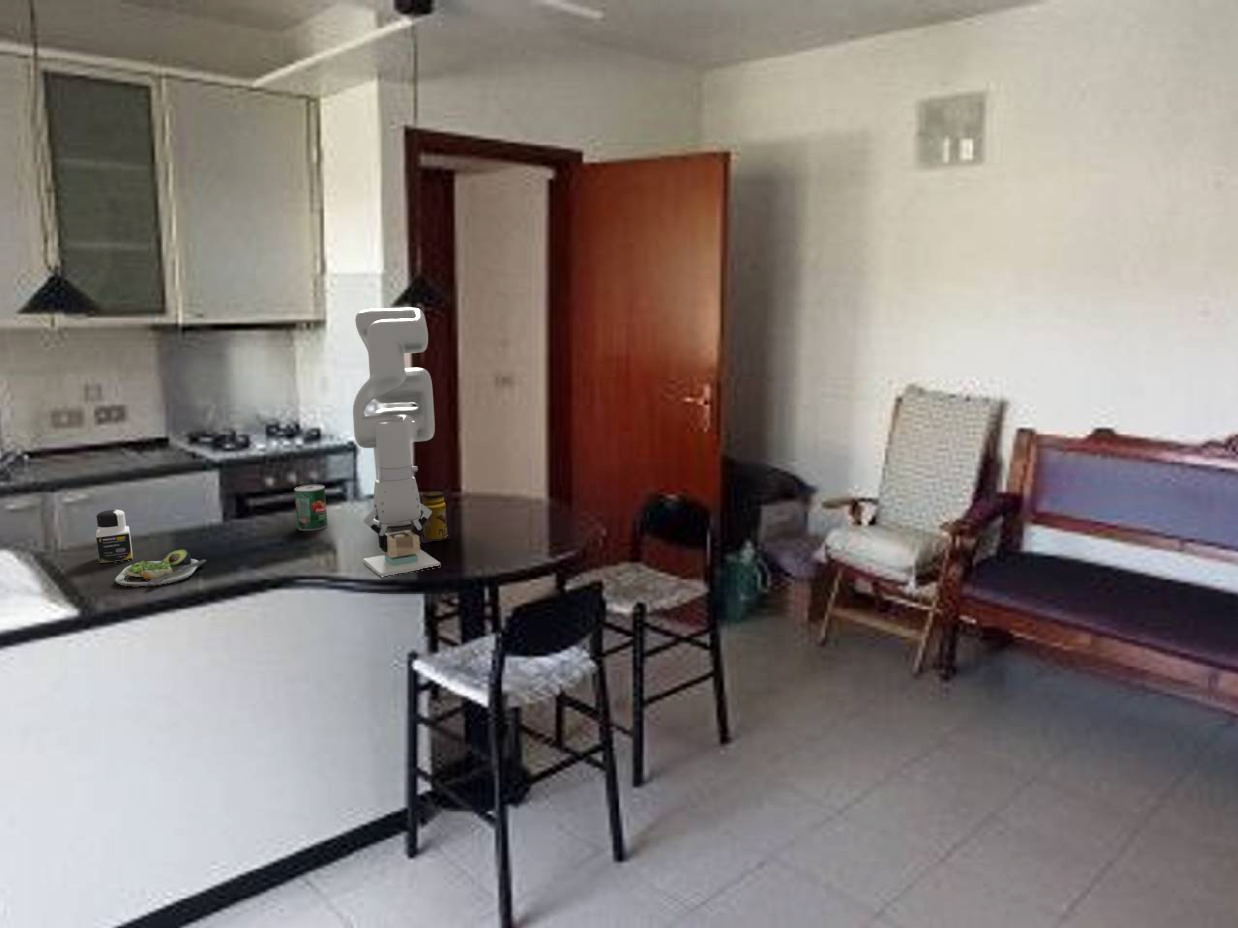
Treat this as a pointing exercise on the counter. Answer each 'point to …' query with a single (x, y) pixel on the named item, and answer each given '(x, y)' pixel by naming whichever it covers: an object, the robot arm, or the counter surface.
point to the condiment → (435, 516)
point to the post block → (400, 562)
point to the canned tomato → (311, 507)
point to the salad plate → (161, 570)
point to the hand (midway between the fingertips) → (400, 547)
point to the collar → (402, 544)
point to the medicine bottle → (113, 536)
